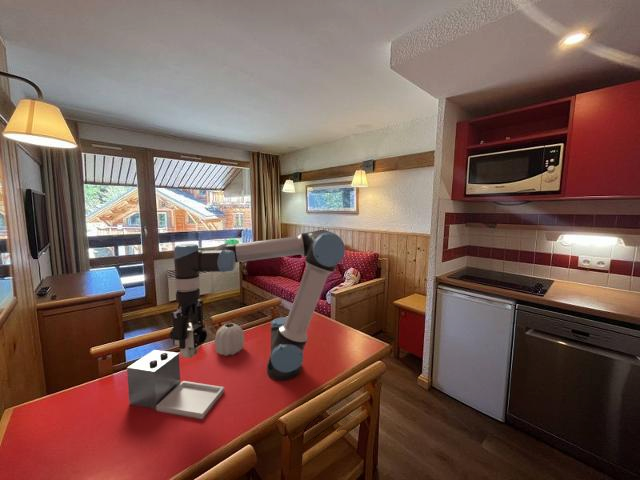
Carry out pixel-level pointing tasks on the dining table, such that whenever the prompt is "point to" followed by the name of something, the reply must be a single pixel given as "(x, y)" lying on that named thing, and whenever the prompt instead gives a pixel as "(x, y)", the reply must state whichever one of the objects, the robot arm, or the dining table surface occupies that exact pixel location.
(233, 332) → the vase
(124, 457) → the dining table surface
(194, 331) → the pneumatic valve
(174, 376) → the control box
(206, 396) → the parts tray
